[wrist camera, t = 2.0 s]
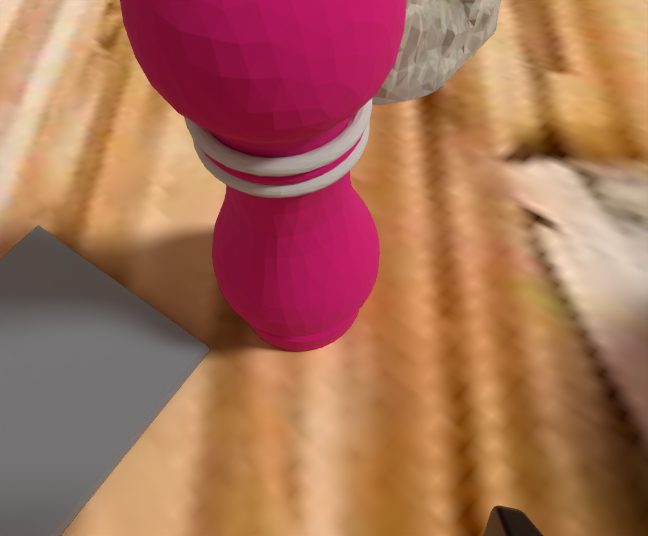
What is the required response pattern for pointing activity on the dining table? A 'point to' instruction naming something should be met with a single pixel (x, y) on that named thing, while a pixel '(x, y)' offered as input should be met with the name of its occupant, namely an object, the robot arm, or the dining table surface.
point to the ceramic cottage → (436, 45)
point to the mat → (74, 380)
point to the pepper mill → (279, 145)
